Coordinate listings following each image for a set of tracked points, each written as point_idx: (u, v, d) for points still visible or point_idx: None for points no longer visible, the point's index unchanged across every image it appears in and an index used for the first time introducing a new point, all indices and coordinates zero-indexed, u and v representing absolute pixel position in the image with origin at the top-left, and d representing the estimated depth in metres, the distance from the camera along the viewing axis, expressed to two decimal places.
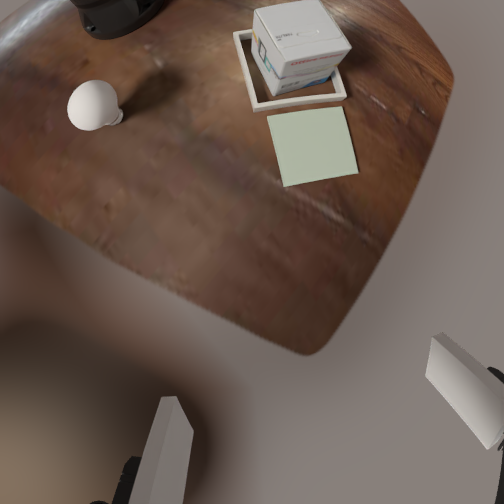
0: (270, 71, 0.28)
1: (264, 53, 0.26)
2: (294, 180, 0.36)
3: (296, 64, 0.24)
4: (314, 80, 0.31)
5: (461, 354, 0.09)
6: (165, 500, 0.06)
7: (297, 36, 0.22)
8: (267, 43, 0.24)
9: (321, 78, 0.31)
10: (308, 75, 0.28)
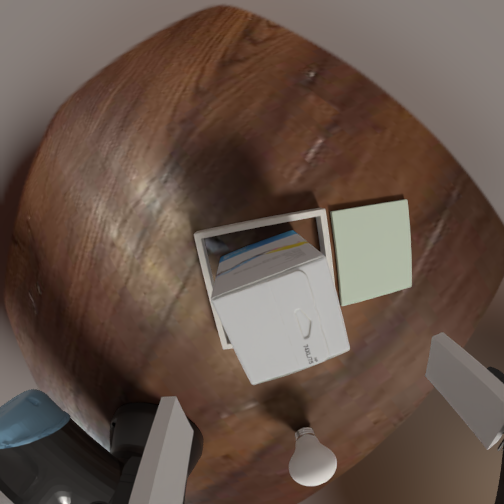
0: None
1: None
2: (407, 276, 0.30)
3: None
4: None
5: (461, 354, 0.09)
6: (165, 500, 0.06)
7: (311, 338, 0.19)
8: None
9: None
10: None
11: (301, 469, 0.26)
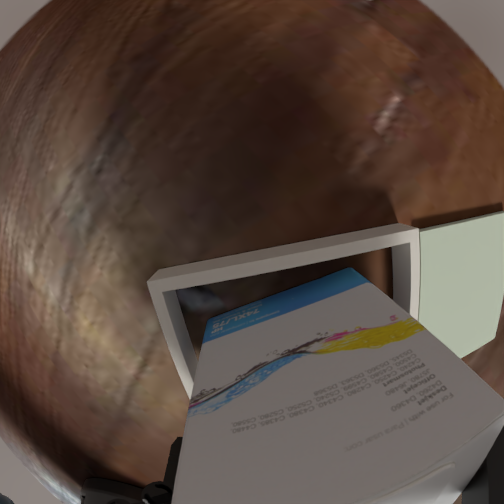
0: None
1: None
2: (494, 325, 0.15)
3: None
4: None
5: None
6: None
7: None
8: None
9: None
10: None
11: None
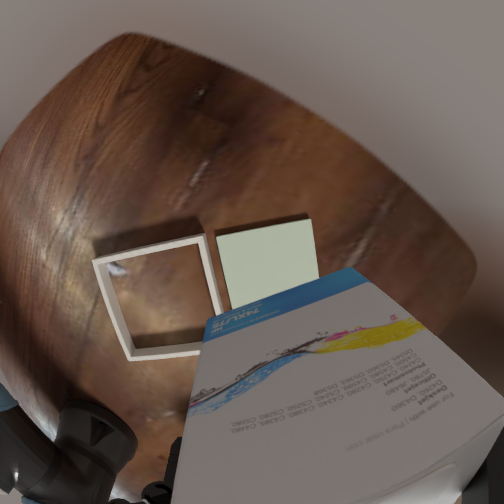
0: None
1: None
2: None
3: None
4: None
5: None
6: None
7: None
8: None
9: None
10: None
11: None
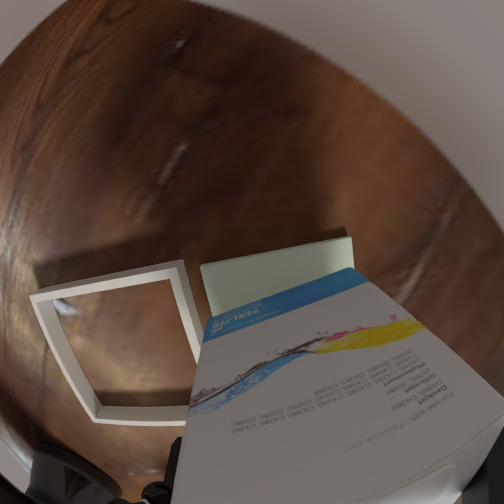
0: None
1: None
2: None
3: None
4: None
5: None
6: None
7: None
8: None
9: None
10: None
11: None
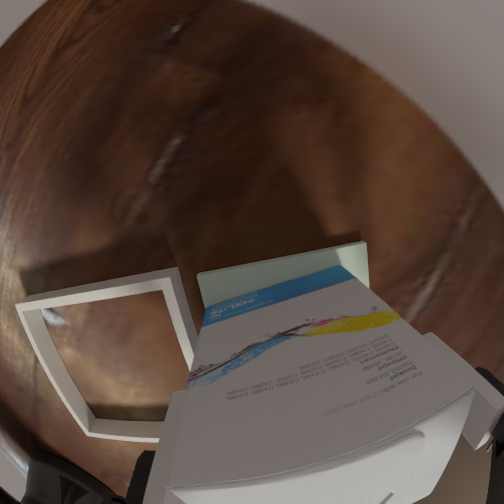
0: None
1: None
2: None
3: None
4: None
5: (449, 354, 0.09)
6: None
7: None
8: None
9: None
10: None
11: None
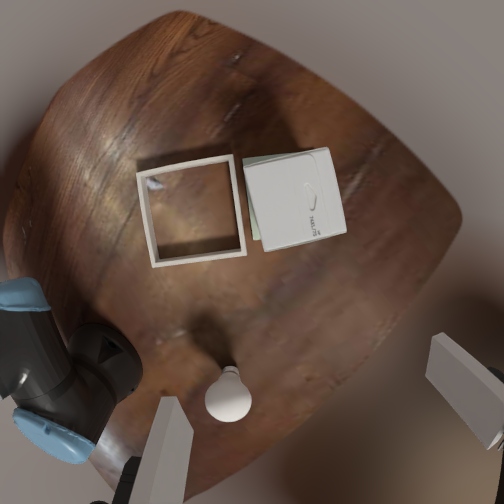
0: None
1: None
2: None
3: None
4: None
5: (461, 354, 0.09)
6: (165, 500, 0.06)
7: (315, 211, 0.25)
8: None
9: None
10: None
11: (211, 397, 0.33)
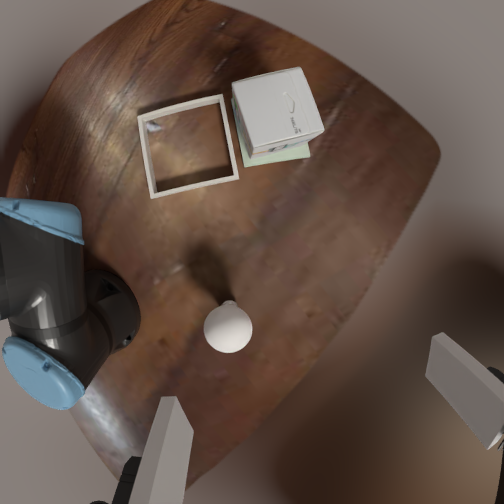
0: (296, 144, 0.34)
1: (283, 146, 0.32)
2: (304, 147, 0.39)
3: None
4: None
5: (461, 354, 0.09)
6: (165, 500, 0.06)
7: (295, 113, 0.27)
8: (289, 141, 0.29)
9: None
10: None
11: (210, 321, 0.35)
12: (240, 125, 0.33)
